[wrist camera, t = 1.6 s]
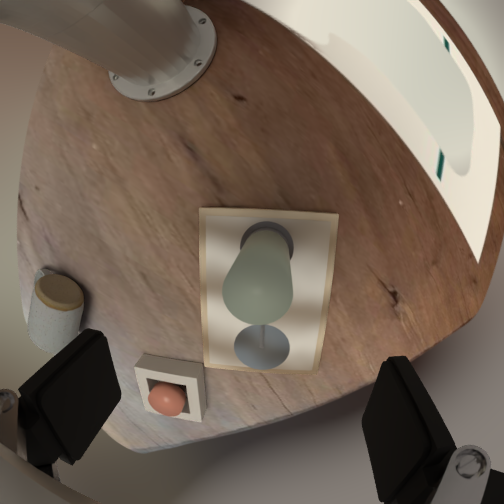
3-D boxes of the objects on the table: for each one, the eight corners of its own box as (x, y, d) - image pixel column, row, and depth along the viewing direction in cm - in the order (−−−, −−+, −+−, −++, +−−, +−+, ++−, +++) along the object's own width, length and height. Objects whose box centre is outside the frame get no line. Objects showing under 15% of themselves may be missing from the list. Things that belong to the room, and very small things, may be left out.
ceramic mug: (97, 293, 31) (59, 318, 24) (86, 337, 33) (55, 365, 26) (44, 251, 31) (5, 266, 24) (38, 297, 33) (5, 316, 26)
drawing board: (202, 206, 27) (198, 208, 26) (336, 212, 26) (339, 214, 25) (206, 360, 32) (204, 367, 31) (316, 368, 31) (317, 375, 29)
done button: (150, 378, 31) (144, 388, 29) (184, 384, 30) (179, 395, 28) (156, 402, 32) (151, 412, 30) (188, 408, 31) (183, 419, 29)
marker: (245, 225, 26) (221, 257, 15) (289, 227, 26) (296, 261, 15) (244, 267, 27) (222, 322, 16) (287, 269, 27) (290, 327, 16)
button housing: (143, 353, 33) (134, 366, 30) (203, 363, 32) (196, 378, 29) (153, 397, 35) (145, 410, 32) (206, 407, 34) (201, 422, 31)
